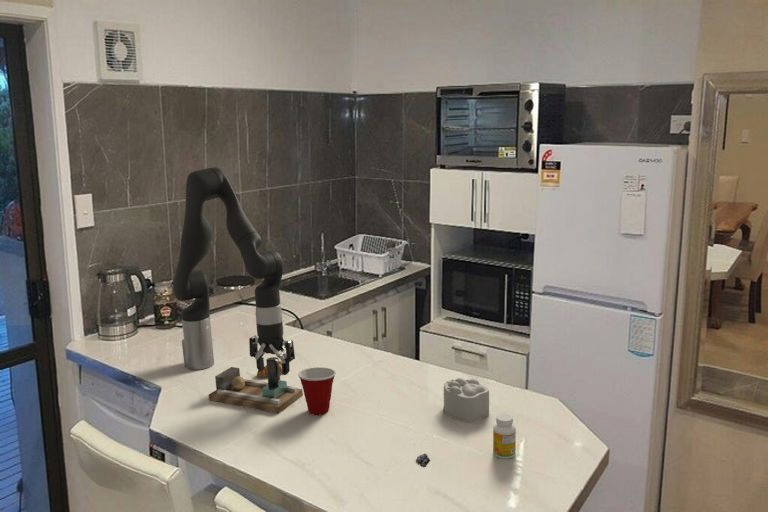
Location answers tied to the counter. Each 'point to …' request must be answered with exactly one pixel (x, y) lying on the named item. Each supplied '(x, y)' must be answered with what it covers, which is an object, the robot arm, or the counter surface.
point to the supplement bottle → (504, 437)
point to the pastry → (264, 373)
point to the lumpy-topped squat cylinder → (466, 400)
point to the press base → (250, 393)
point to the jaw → (274, 380)
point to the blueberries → (423, 460)
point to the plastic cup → (317, 388)
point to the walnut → (238, 383)
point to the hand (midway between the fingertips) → (273, 372)
